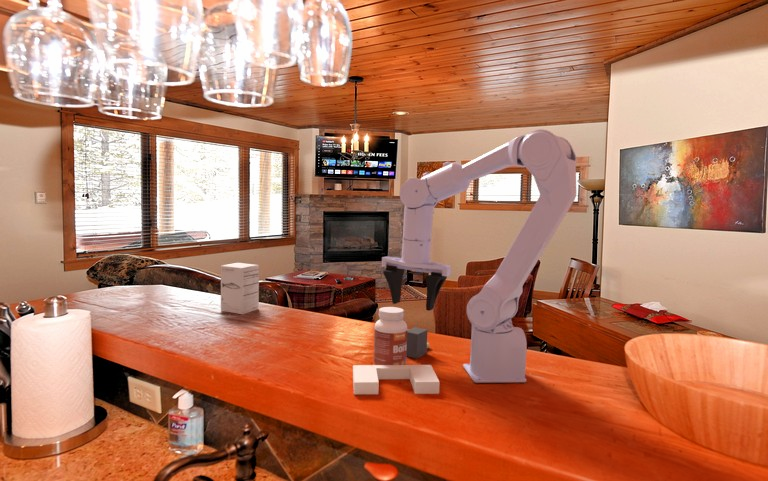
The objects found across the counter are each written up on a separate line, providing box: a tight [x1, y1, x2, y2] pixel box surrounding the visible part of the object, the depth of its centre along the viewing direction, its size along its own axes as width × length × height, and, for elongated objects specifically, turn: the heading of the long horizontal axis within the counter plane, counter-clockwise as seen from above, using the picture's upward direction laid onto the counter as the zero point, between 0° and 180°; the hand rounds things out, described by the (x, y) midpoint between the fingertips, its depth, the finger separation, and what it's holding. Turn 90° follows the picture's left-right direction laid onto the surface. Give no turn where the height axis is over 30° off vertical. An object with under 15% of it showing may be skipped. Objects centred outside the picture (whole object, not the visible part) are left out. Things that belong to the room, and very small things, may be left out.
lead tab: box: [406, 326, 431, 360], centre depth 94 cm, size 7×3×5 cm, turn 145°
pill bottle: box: [373, 306, 408, 365], centre depth 85 cm, size 6×6×11 cm
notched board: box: [352, 364, 441, 395], centre depth 77 cm, size 14×8×2 cm, turn 95°
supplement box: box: [220, 262, 260, 315], centre depth 123 cm, size 7×7×13 cm
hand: (412, 306), depth 92 cm, fingers open, 7 cm apart
